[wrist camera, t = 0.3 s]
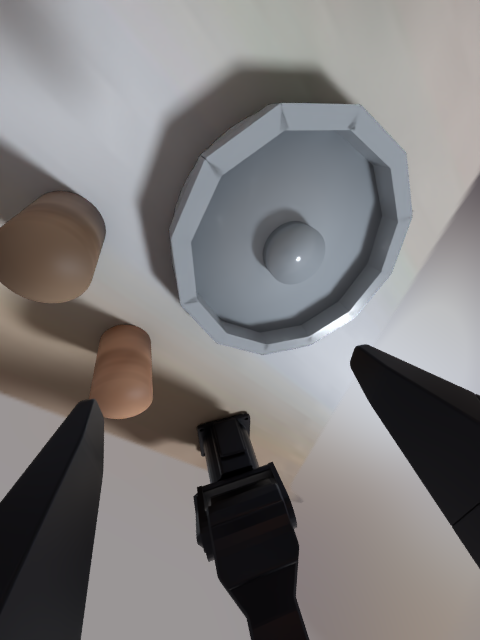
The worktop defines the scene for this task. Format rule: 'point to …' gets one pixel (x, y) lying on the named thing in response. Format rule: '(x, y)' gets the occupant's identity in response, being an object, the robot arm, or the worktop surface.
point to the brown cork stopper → (123, 372)
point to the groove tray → (290, 225)
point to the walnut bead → (51, 248)
